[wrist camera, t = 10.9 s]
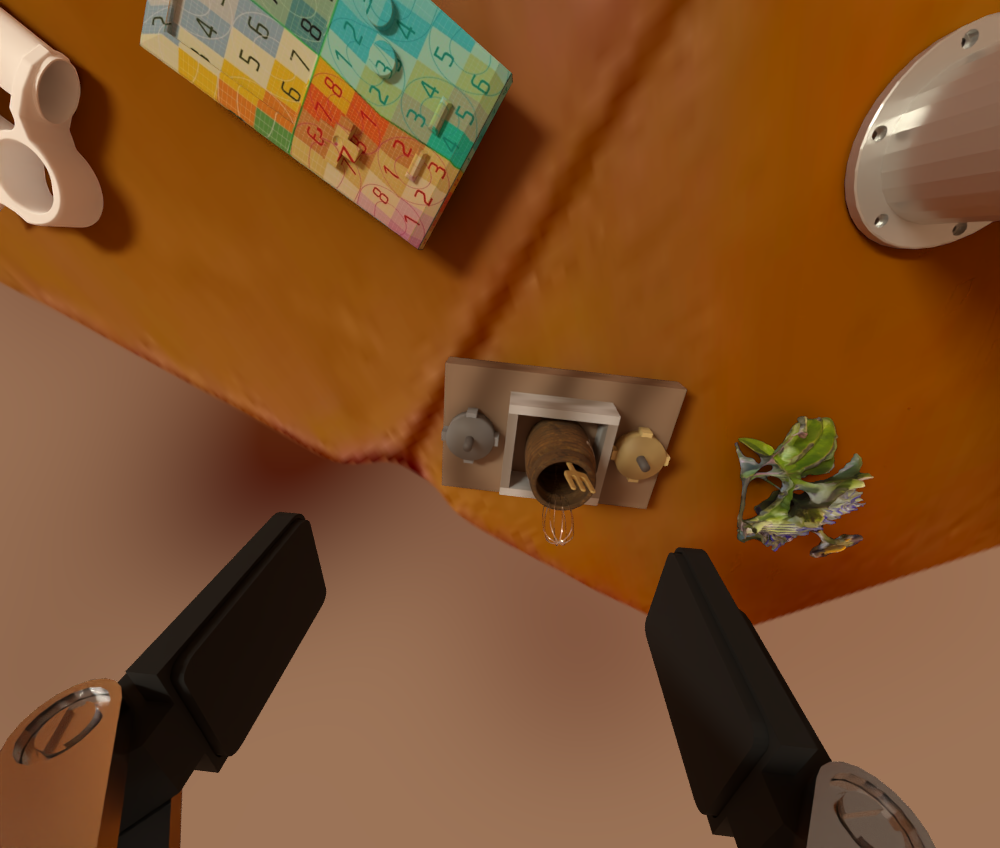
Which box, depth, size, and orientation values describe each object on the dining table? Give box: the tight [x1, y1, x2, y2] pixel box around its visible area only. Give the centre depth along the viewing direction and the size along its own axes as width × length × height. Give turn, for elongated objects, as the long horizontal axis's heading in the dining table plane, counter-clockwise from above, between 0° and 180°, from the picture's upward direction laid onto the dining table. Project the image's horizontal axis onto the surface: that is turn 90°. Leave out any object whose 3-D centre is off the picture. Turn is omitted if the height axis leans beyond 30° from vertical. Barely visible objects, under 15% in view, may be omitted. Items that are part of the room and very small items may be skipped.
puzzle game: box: [140, 0, 513, 250], centre depth 24 cm, size 12×5×20 cm
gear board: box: [442, 357, 687, 509], centre depth 34 cm, size 21×13×5 cm, turn 85°
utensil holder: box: [525, 418, 596, 546], centre depth 29 cm, size 6×6×12 cm
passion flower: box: [735, 416, 873, 558], centre depth 33 cm, size 11×11×12 cm
